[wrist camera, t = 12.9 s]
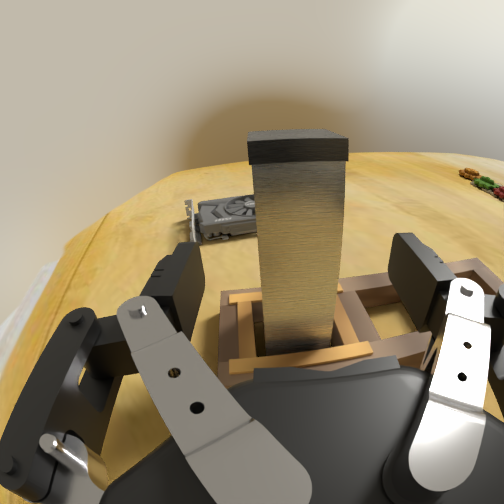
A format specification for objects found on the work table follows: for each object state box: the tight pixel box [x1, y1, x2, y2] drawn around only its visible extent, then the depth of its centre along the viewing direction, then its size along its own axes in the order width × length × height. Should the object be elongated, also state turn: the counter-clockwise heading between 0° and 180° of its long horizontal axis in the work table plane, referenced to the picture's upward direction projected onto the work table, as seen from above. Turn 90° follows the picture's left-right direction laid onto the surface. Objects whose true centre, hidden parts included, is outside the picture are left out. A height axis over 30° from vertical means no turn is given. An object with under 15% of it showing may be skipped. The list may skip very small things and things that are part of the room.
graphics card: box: [185, 194, 257, 245], centre depth 38 cm, size 17×4×12 cm
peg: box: [247, 129, 348, 356], centre depth 16 cm, size 4×4×14 cm
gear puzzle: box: [459, 168, 504, 202], centre depth 47 cm, size 31×16×4 cm, turn 6°
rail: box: [217, 258, 504, 389], centre depth 19 cm, size 26×9×2 cm, turn 93°
